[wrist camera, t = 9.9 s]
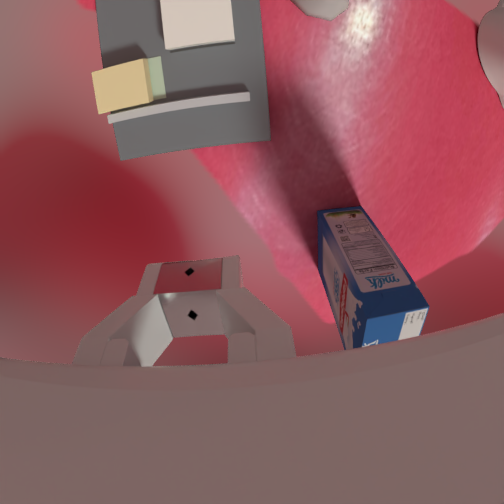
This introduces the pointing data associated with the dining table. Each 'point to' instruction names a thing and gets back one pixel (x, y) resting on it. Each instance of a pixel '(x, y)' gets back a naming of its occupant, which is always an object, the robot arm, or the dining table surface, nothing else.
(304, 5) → the flask
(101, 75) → the stub
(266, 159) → the dining table surface
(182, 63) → the ticket board
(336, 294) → the milk carton
